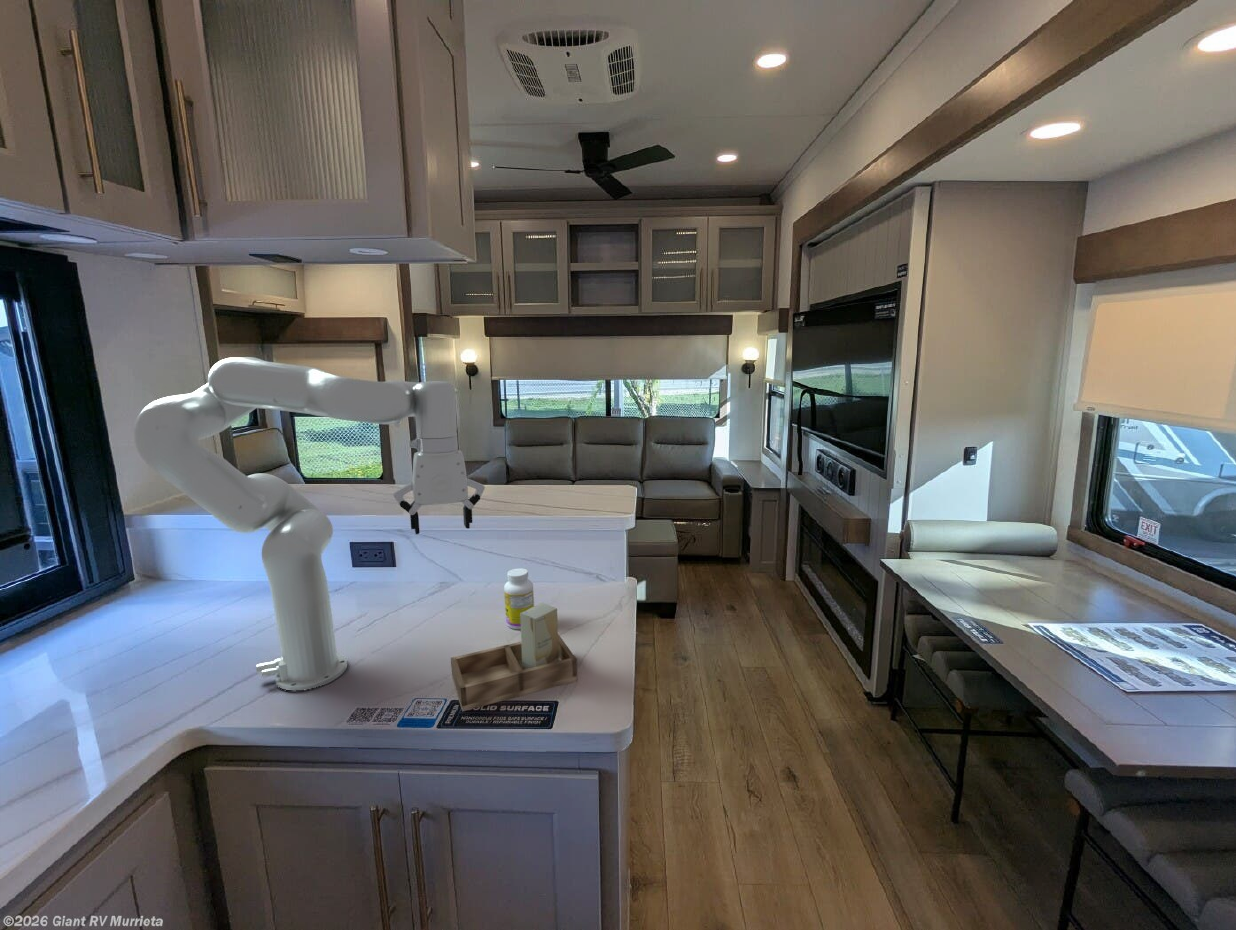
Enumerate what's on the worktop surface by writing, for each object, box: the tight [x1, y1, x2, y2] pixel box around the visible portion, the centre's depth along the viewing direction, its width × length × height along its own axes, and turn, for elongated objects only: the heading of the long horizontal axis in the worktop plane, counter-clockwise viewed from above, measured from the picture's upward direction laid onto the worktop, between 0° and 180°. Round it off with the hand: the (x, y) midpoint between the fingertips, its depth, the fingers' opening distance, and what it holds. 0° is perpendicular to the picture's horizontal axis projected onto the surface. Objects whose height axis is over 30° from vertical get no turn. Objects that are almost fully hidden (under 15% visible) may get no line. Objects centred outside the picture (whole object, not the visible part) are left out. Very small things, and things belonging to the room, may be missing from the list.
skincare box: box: [520, 602, 559, 670], centre depth 111 cm, size 6×4×12 cm
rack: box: [450, 633, 578, 712], centre depth 109 cm, size 22×11×4 cm, turn 114°
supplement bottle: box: [503, 568, 535, 630], centre depth 131 cm, size 7×7×13 cm
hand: (442, 529), depth 114 cm, fingers open, 9 cm apart
